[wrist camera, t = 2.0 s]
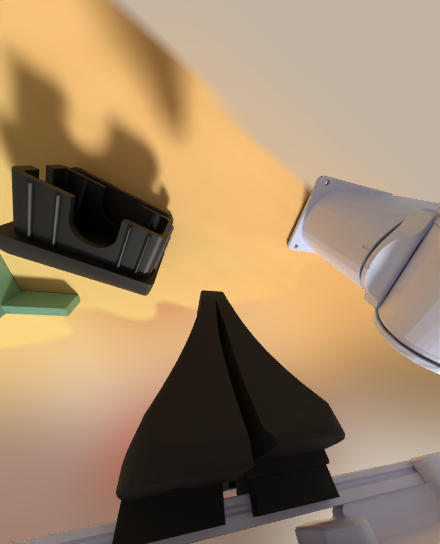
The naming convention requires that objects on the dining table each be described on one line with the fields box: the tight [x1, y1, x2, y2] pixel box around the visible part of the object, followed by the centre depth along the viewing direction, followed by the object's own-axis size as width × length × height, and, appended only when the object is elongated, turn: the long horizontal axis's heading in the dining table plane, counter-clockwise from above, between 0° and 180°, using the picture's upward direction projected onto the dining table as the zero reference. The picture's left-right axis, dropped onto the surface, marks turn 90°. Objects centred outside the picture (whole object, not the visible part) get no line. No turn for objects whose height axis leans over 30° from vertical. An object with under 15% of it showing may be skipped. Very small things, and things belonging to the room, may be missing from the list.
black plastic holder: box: [0, 165, 174, 295], centre depth 14 cm, size 10×7×7 cm
